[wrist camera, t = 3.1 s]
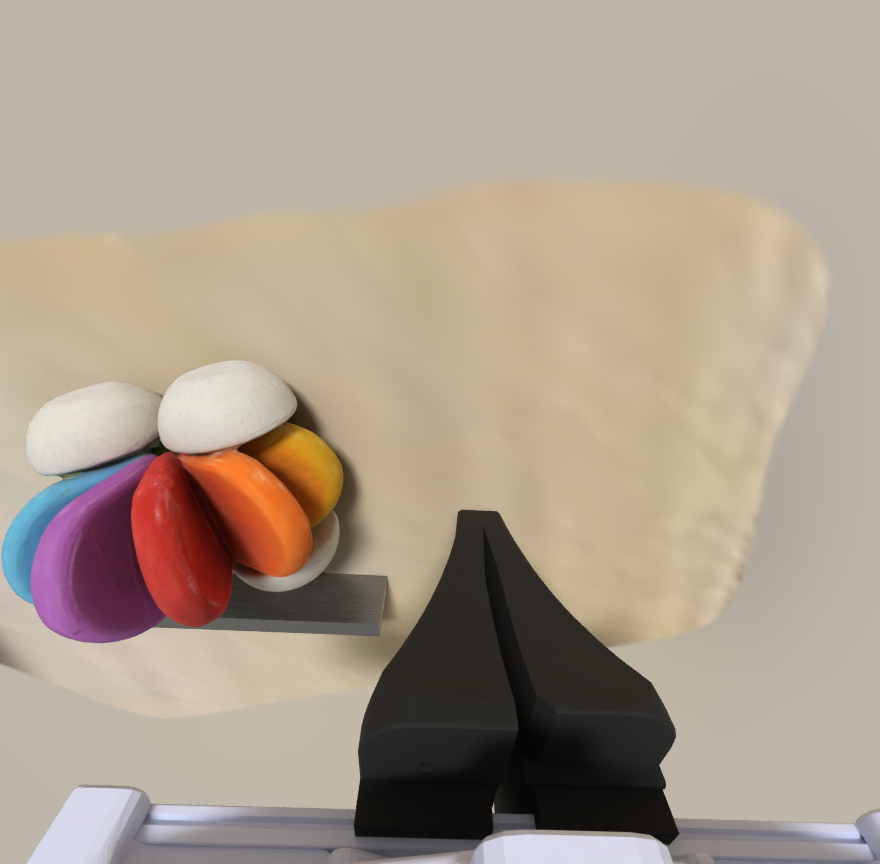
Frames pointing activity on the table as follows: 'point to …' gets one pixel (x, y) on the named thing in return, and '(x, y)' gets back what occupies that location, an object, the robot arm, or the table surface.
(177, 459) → the rainbow disc baby rattle
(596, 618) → the table surface
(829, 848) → the robot arm
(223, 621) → the rail
